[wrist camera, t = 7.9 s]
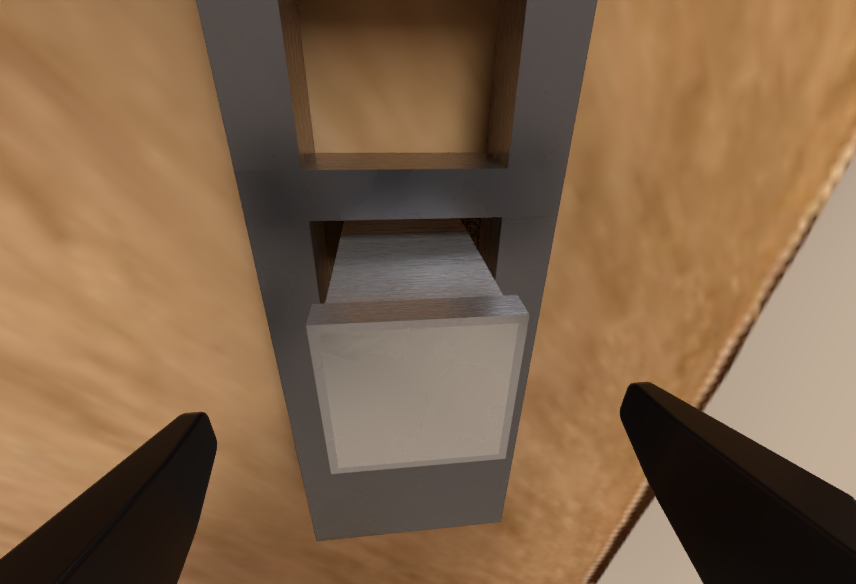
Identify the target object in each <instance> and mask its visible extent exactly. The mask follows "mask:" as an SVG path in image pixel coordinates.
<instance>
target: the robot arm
mask: <svg viewBox="0 0 856 584" xmlns="http://www.w3.org/2000/svg"><path fill="white" fill-rule="evenodd" d="M620 418H621V421H622V423H623V426H624V428H625V430H626V433H627V435H628V437H629V439H630V442H631V444H632V446H633V449H634V451H635V453H636V456H637V458H638V460H639V463H640V465H641V467H642V470H643V472H644V474H645V476H646V478H647V481H648V483H649V485H650V487H651V489H652V491H653V493H654V494H655V496H656V498H657V500H658V502H659V504H660V506H661V507H662V509H663V511H664V513H665V514H666V516H667V518H668V520H669V522H670V524H671V526H672V527H673V529H674V531H675V533H676V535H677V536H678V538H679V540H680V542H681V544H682V546H683V547H684V549H685V551H686V553H687V554H688V556H689V558H690V560H691V562H692V564H693V565H694V567H695V569H696V571H697V572H698V575H699V576H700V578H701V580H702V582H703V584H856V500H855V499H854V498H853V497H852V496H850V495H849V494H847V493H845V492H843V491H842V490H840V489H838V488H836V487H834V486H833V485H831V484H829V483H827V482H826V481H824V480H822V479H820V478H819V477H817V476H815V475H813V474H812V473H810V472H808V471H806V470H804V469H803V468H801V467H799V466H797V465H796V464H794V463H792V462H790V461H788V460H787V459H785V458H783V457H781V456H780V455H778V454H776V453H774V452H773V451H771V450H769V449H767V448H766V447H764V446H762V445H760V444H758V443H757V442H755V441H753V440H751V439H750V438H748V437H746V436H744V435H743V434H741V433H739V432H737V431H736V430H734V429H732V428H730V427H728V426H727V425H725V424H723V423H721V422H720V421H718V420H716V419H714V418H713V417H711V416H709V415H707V414H705V413H704V412H702V411H700V410H698V409H697V408H695V407H693V406H691V405H690V404H688V403H686V402H684V401H682V400H681V399H679V398H677V397H675V396H674V395H672V394H670V393H668V392H667V391H665V390H663V389H661V388H660V387H658V386H656V385H654V384H652V383H650V382H638V383H631V384H630V385H629V386H628V388H627V391H626V393H625V396H624V399H623V402H622V405H621V407H620ZM216 451H217V440H216V436H215V434H214V431H213V428H212V425H211V423H210V420H209V417H208V415H207V414H206V413H204V412H192V413H184V414H181V415H180V416H178V417H177V418H176V419H174V420H173V421H172V422H171V423H169V424H168V425H167V426H166V427H164V428H163V429H162V430H161V431H159V432H158V433H157V434H156V435H154V436H153V437H152V438H151V439H149V440H148V441H147V442H146V443H144V444H143V445H142V446H141V447H139V448H138V449H137V450H136V451H134V452H133V453H132V454H131V455H129V456H128V457H127V458H126V459H125V460H123V461H122V462H121V463H120V464H118V465H117V466H116V467H115V468H113V469H112V470H111V471H110V472H108V473H107V474H106V475H105V476H103V477H102V478H101V479H100V480H98V481H97V482H96V483H95V484H93V485H92V486H91V487H90V488H88V489H87V490H86V491H85V492H83V493H82V494H81V495H80V496H78V497H77V498H76V499H75V500H73V501H72V502H71V503H70V504H68V505H67V506H66V507H65V508H63V509H62V510H61V511H60V512H58V513H57V514H56V515H55V516H53V517H52V518H51V519H50V520H48V521H47V522H46V523H45V524H43V525H42V526H41V527H40V528H38V529H37V530H36V531H35V532H33V533H32V534H31V535H30V536H28V537H27V538H26V539H25V540H23V541H22V542H21V543H20V544H18V545H17V546H16V547H15V548H13V549H12V550H11V551H10V552H8V553H7V554H6V555H5V556H3V557H2V558H1V559H0V584H177V582H178V580H179V577H180V574H181V571H182V569H183V566H184V563H185V560H186V558H187V555H188V552H189V550H190V547H191V544H192V541H193V538H194V535H195V532H196V529H197V526H198V522H199V518H200V515H201V511H202V507H203V503H204V499H205V495H206V491H207V487H208V483H209V479H210V475H211V471H212V467H213V463H214V459H215V455H216Z"/></svg>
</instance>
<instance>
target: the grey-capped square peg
mask: <svg viewBox="0 0 856 584" xmlns="http://www.w3.org/2000/svg"><path fill="white" fill-rule="evenodd" d="M529 315H530V314H529V313H528V311H527V310H526V308H525V306H524V305H523V303H522V302H521V300H520V298H519V297H518V295H504V296H503V294H502V293H501V291H500V289H499V287H498V285H497V284H496V282H495V280H494V278H493V276H492V275H491V273H490V271H489V269H488V268H487V266H486V264H485V262H484V260H483V259H482V257H481V255H480V253H479V252H478V250H477V248H476V246H475V244H474V243H473V241H472V239H471V237H470V235H469V234H468V232H467V230H466V228H465V227H464V225H463V223H462V221H461V219H460V218H438V219H389V220H345V221H344V225H343V229H342V234H341V238H340V242H339V246H338V251H337V255H336V259H335V263H334V268H333V272H332V276H331V280H330V285H329V289H328V293H327V298H326V302H325V303H323V304H312V307H311V310H310V313H309V317H308V320H307V324H306V329H307V335H308V340H309V346H310V352H311V358H312V364H313V370H314V376H315V382H316V388H317V394H318V399H319V405H320V411H321V417H322V423H323V429H324V435H325V441H326V447H327V453H328V458H329V464H330V470H331V474H338V473H349V472H361V471H372V470H383V469H394V468H406V467H417V466H428V465H440V464H451V463H462V462H474V461H485V460H496V459H505V458H506V452H507V446H508V440H509V434H510V428H511V422H512V416H513V410H514V404H515V398H516V392H517V387H518V381H519V375H520V369H521V363H522V357H523V351H524V345H525V339H526V333H527V327H528V321H529Z"/></svg>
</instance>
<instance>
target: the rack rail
mask: <svg viewBox="0 0 856 584" xmlns="http://www.w3.org/2000/svg"><path fill="white" fill-rule="evenodd" d="M196 2H197V6H198V11H199V15H200V20H201V24H202V29H203V33H204V38H205V42H206V47H207V51H208V56H209V60H210V65H211V69H212V74H213V78H214V83H215V87H216V92H217V96H218V101H219V105H220V109H221V114H222V118H223V123H224V127H225V132H226V136H227V141H228V145H229V150H230V154H231V159H232V163H233V168H234V172H235V177H236V181H237V186H238V190H239V195H240V199H241V204H242V208H243V213H244V217H245V222H246V226H247V231H248V235H249V240H250V244H251V249H252V253H253V258H254V262H255V267H256V271H257V276H258V280H259V285H260V289H261V294H262V298H263V303H264V307H265V312H266V316H267V321H268V325H269V330H270V334H271V339H272V343H273V348H274V352H275V357H276V361H277V366H278V370H279V375H280V379H281V384H282V388H283V392H284V397H285V401H286V406H287V410H288V415H289V419H290V424H291V428H292V433H293V437H294V442H295V446H296V451H297V455H298V460H299V464H300V469H301V473H302V478H303V482H304V487H305V491H306V496H307V500H308V505H309V509H310V514H311V518H312V523H313V527H314V532H315V536H316V541H323V540H332V539H342V538H352V537H361V536H371V535H380V534H390V533H399V532H409V531H419V530H428V529H438V528H447V527H457V526H466V525H476V524H486V523H495V522H501V518H502V513H503V507H504V502H505V497H506V491H507V486H508V480H509V475H510V470H511V464H512V459H513V453H514V448H515V443H516V437H517V432H518V426H519V421H520V416H521V410H522V405H523V399H524V394H525V389H526V383H527V378H528V372H529V367H530V362H531V356H532V351H533V345H534V340H535V335H536V329H537V324H538V318H539V313H540V308H541V302H542V297H543V291H544V286H545V281H546V275H547V270H548V264H549V259H550V254H551V248H552V243H553V237H554V232H555V227H556V221H557V216H558V210H559V205H560V200H561V194H562V189H563V183H564V178H565V173H566V167H567V162H568V156H569V151H570V146H571V140H572V135H573V129H574V124H575V119H576V113H577V108H578V102H579V97H580V92H581V86H582V81H583V75H584V70H585V65H586V59H587V54H588V48H589V43H590V38H591V32H592V27H593V21H594V16H595V11H596V5H597V0H499V11H498V23H497V35H496V46H495V58H494V70H493V81H492V93H491V105H490V116H489V128H488V140H487V151H486V153H315V149H314V141H313V133H312V124H311V116H310V108H309V99H308V91H307V83H306V74H305V66H304V58H303V50H302V41H301V33H300V25H299V16H298V8H297V0H196ZM438 218H481V221H480V233H479V245H478V252H479V253H480V255H481V257H482V259H483V260H484V262H485V264H486V266H487V268H488V269H489V271H490V273H491V275H492V276H493V278H494V280H495V282H496V284H497V285H498V287H499V289H500V291H501V293H502V294H503V296H504V295H518V297H519V298H520V300H521V302H522V303H523V305H524V306H525V308H526V310H527V311H528V313H529V314H530V315H529V321H528V327H527V333H526V339H525V345H524V351H523V357H522V363H521V369H520V375H519V381H518V387H517V392H516V398H515V404H514V410H513V416H512V422H511V428H510V434H509V440H508V446H507V452H506V458H505V459H496V460H485V461H474V462H462V463H451V464H440V465H428V466H417V467H406V468H394V469H383V470H372V471H361V472H349V473H338V474H331V470H330V464H329V458H328V453H327V447H326V441H325V435H324V429H323V423H322V417H321V411H320V405H319V399H318V394H317V388H316V382H315V376H314V370H313V364H312V358H311V352H310V346H309V340H308V335H307V329H306V324H307V320H308V317H309V313H310V310H311V307H312V304H323V303H325V302H326V298H327V293H328V289H329V285H330V273H329V265H328V257H327V249H326V240H325V232H324V224H323V221H340V220H389V219H438Z"/></svg>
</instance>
